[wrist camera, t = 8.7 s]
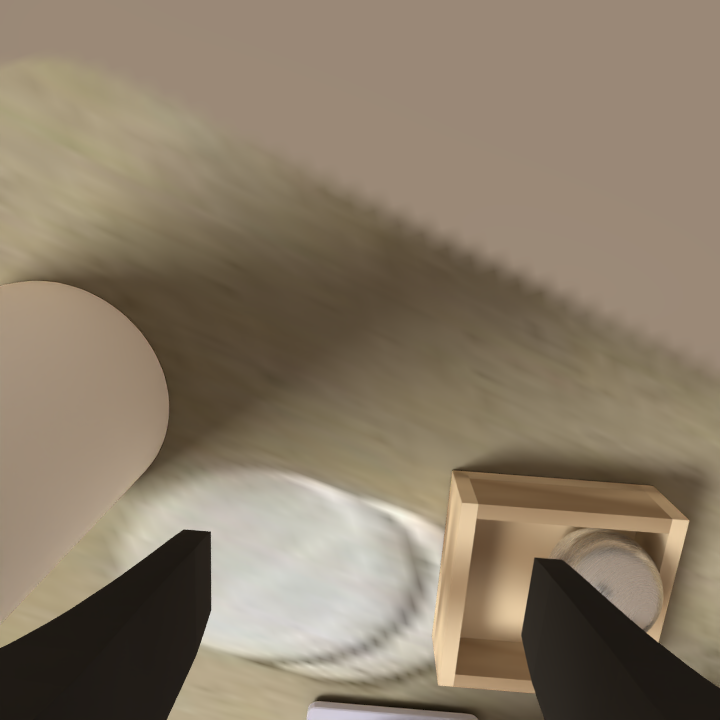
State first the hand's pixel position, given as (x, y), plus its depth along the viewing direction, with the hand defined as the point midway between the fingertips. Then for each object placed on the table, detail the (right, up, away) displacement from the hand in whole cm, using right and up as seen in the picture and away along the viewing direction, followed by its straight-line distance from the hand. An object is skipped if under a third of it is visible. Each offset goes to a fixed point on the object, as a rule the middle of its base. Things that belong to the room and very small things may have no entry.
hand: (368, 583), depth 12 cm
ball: (+9, -3, +8) cm, 13 cm away
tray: (+7, -4, +11) cm, 14 cm away
